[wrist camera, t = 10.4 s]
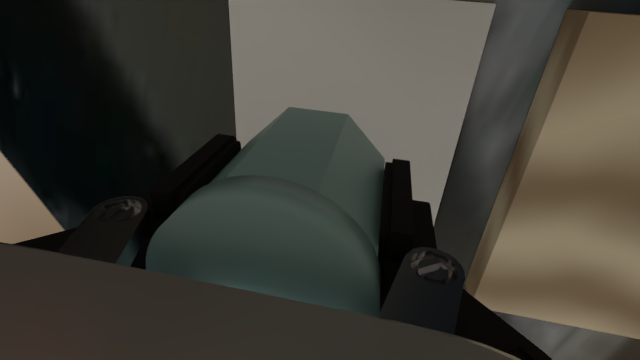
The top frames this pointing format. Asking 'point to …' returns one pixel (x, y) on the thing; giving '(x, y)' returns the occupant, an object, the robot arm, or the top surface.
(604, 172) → the post block
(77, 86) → the top surface
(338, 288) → the cap
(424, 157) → the grey mat
